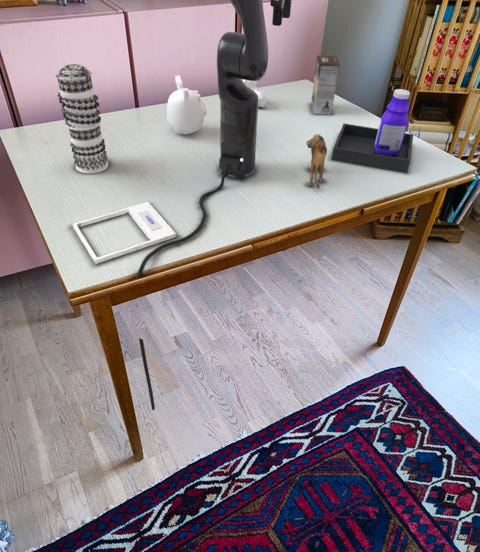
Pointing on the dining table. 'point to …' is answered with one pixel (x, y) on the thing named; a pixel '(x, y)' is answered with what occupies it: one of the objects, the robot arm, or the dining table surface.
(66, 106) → the decorative candle
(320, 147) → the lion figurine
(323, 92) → the coffee box
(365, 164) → the shallow square tray
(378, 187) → the dining table surface
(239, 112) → the robot arm
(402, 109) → the bottle
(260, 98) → the bust
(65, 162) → the dining table surface
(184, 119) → the piggy bank
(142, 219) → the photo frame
